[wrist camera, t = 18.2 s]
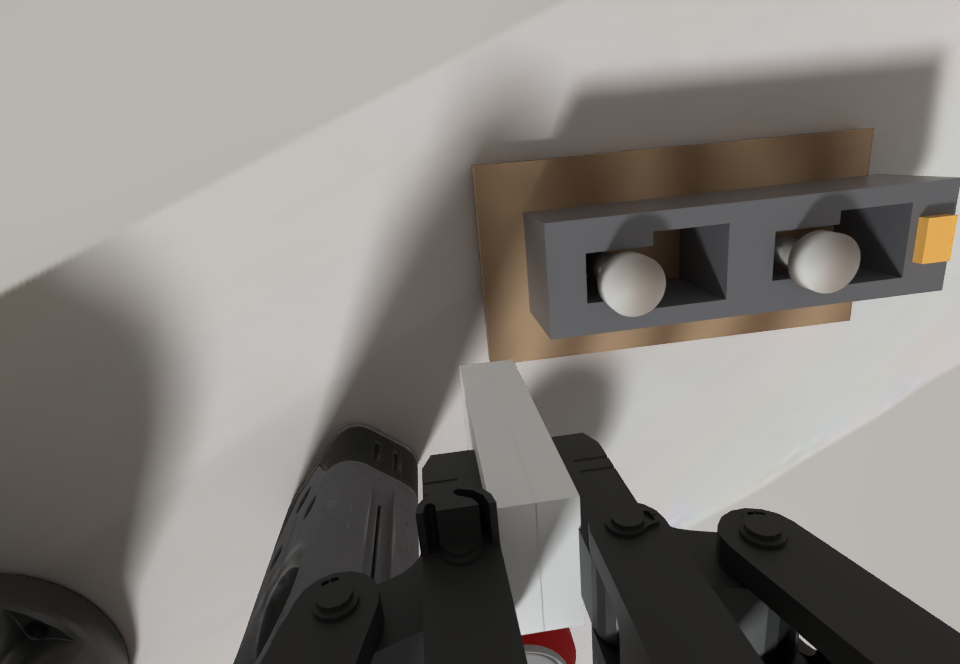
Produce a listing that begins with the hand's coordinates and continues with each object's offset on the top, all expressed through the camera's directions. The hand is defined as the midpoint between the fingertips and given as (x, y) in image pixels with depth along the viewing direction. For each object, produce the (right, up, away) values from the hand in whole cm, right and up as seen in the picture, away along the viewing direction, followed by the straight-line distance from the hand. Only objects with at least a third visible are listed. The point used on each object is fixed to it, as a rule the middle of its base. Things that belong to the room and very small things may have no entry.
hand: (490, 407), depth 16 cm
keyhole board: (+12, +8, +20) cm, 24 cm away
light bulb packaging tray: (+13, +8, +18) cm, 24 cm away
